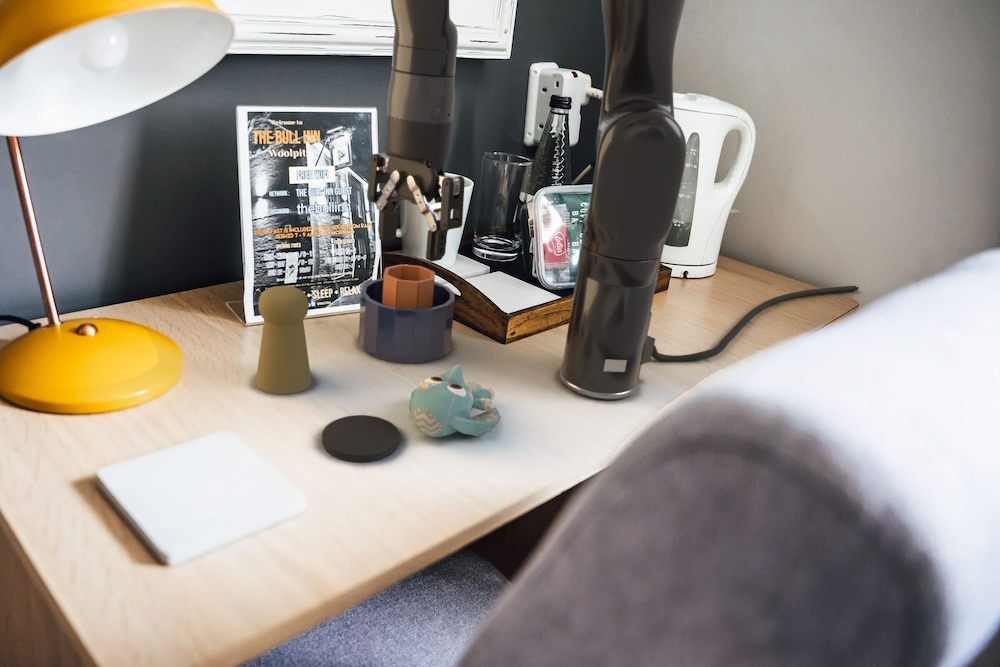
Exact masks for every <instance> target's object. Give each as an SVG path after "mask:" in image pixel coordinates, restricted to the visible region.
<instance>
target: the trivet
mask: <svg viewBox="0 0 1000 667" xmlns="http://www.w3.org/2000/svg"><path fill="white" fill-rule="evenodd" d="M322 430H323V431H322V433H321V444H322V446H323V448H324V450H325V451H326V452H327V453H328V454H329V455H331V456H333V457H335V458H336V459H340V460H343V461H346V462H353V463H370V462H375V461H379V460H384V459H385V458H387V457H390V456H391V455H393V454H394V453H395V452H396V451H397V450H398V449H399V446H400V439H401V434H400V431H399V429H398V428H397V426H396V425H394V423H392V422H390V421H389V420H386V419H384V418H382V417H378V416H374V415H363V414H356V415H355V414H354V415H346V416H343V417H339V418H337V419H335V420H332V421H331V422H329V423H328V424H327V425H326V426H325V428H323V429H322Z"/></svg>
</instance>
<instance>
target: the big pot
mask: <svg viewBox="0 0 1000 667" xmlns="http://www.w3.org/2000/svg"><path fill="white" fill-rule="evenodd" d="M383 278H384V277H381V278H377V279H374V280H370V281H368V282H367V283H365V284H363V285H362V287H361V290H360V300H359V301H360V302H359V325H358V341H359V346H360V347H361V349H362V350H363V351H364V352H365V353H367V354H368V355H370V356H372V357H374V358H376V359H379V360H383V361H386V362H391V363H399V364H418V363H419V364H420V363H427V362H432V361H435V360H438V359H441V358H442V357H445V356H446V355H447V354H448V352H449V351H450V349H451V344H452V332H453V322H454V312H455V300H456V298H455V292H454V291H453V290H452V289H451V288H450V287H448V286H446V285H445V284H442V283H439V282H437V281H435V280H434V292H433V304H432V308H424V309H407V308H396V307H392V306H388V305H384V304H382V298H383Z"/></svg>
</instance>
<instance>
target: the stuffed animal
mask: <svg viewBox="0 0 1000 667" xmlns="http://www.w3.org/2000/svg"><path fill="white" fill-rule="evenodd" d="M494 397H495V391H494V390H493V388H491V387H483V386H482V385H481V384H480V383H478V382H477V383H476V382H475V381H473V380H470V381H467V382H465V380H464V371H463V367H462V365H460V364H455V365H453V366H451V367H450V368H449V369H447V370H446V371H445V372H443V373H442V374H439V375H437V376H430V377H428V378H425V379H423V380H421V382H420V383H418V384H417V386H416V388H415V389H413V390H412V391H411V396H410V399H409V403H408V410H409V411H410V414H411V417H412V420H413V423H414V425H415V427H416V429H418V430H419V431H420V432H421V433H422V434H424V435H426V436H429V437H434V438H440V437H447V436H450V435H452V434H455V433H457V432H459V433H461V434H464V435H470V436H474V437H479V436H482V435H486V434H488V433H491V432H493V430H494V429H495V428H496V427H497V425H498V424H500V422H501V420H502V416H501V414H500V412H499V410H498V409H497V408H496V407H494V408H493V402H492V400H493V399H494ZM472 409H476V410H478V411H483V412H481V413H478V414H477V415H474V416H471V417H470V415H471V413H472Z"/></svg>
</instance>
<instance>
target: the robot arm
mask: <svg viewBox="0 0 1000 667" xmlns="http://www.w3.org/2000/svg"><path fill="white" fill-rule="evenodd" d="M685 3H686V0H601V9H602V11H601V12H602V20H603V31H604V44H605V46H604V47H605V62H604V77H603V86H602V96H601V102H600V103H601V104H600V111H599V118H598V125H597V130H596V134H595V135H596V136H595V154H596V159H595V160H596V161H595V166H594V173H593V180H592V185H591V191H590V199H589V203H588V210H587V214H586V218H585V220H584V223H583V230H582V237H581V242H580V248H579V249H580V250H579V255H578V262H577V269H576V276H575V282H574V287H573V294H572V300H571V301H572V302H571V308H570V313H569V319H568V327H567V334H566V339H565V344H564V345H565V346H564V351H563V358H562V365H561V368H560V370H559V371H560V372H559V379H560V381H561V383H562V385H564V386H565V387H567V389H569V390H571V391H573V392H575V393H577V394H579V395H583V396H586V397H588V398H593V399H600V400H620V399H625V398H628V397H630V396H632V395H633V394H634V393H635V392H636V389H637V385H638V382H639V379H640V374H641V370H642V366H643V365H644V364H647V363H649V362H650V361H652V358H653V359H654V360H656V361H658V362H662V363H688V362H695V361H700V360H703V359H707V358H712V357H714V356H716V355H718V354H720V353H722V352H723V351H724V350H725V348H727V347H728V345H729V343H730V342H731V341H732V340H733V339H735V337H736V336H737V335H738V334H739V333H740V332H741V330H743V329H744V327H746V325H747V324H748V323H749V322H750V321H751V320H752V319H753V318H754V317H756V315H758V314H759V313H760V312H762V311H763V310H765V309H767V308H768V307H770V306H773V305H775V304H778V303H781V302H784V301H787V300H793V299H796V298H802V297H807V296H808V297H809V296H815V295H824V294H835V293H843V292H844V293H845V292H856V291H857V292H858V291H859V289H860V287H859V286H858V287H856V286H855V285H844V286H830V287H822V288H813V289H812V288H811V289H805V290H799V291H793V292H790V293H785V294H782V295H779V296H775V297H773V298H770V299H768V300H766V301H764V302H762V303H761V304H759V305H757V306H756V307H754V308H752V309H751V310H750V311H749V312H747V314H746V315H745V316H743V318H742V319H740V321H738V322H737V323H736V324H735V326H734V327H733V328H732V329H731V330H730V331H729V332H728V333H727V334H726V335H725V336H724V337H723V338H722V339H721V341H720V342H719V343H718V344H717V345H716V346H715V347H712V348H710V349H707V350H702V351H699V352H694V353H690V354H681V355H671V354H670V355H669V354H663V353H659V352H658V350H657V346H656V345H655V343H656V338H655V337H653V336H651V335H649V330H650V324H651V319H652V307H653V302H654V296H655V292H656V288H657V281H658V276H659V271H660V266H661V262H662V255H663V251H664V248H665V243H666V240H667V238H668V236H669V235H670V232H671V229H672V226H673V221H674V218H675V213H676V208H677V204H678V201H679V194H680V191H681V186H682V182H683V178H684V173H685V168H686V167H685V166H686V162H687V152H688V151H687V140H686V137H685V136H686V135H685V133H684V131H683V129H682V127H681V125H680V124H679V123H678V121H677V120H676V118H675V106H674V56H675V48H676V41H677V36H678V31H679V28H680V24H681V19H682V16H683V12H684V9H685ZM390 6H391V7H390V8H391V12H392V17H393V18H392V19H393V24H394V33H393V41H392V42H393V43H392V60H391V68H392V69H391V73H390V78H389V79H390V80H389V82H388V90H387V105H386V119H385V120H386V122H385V136H384V137H385V139H384V150H385V152H380V153H379V152H378V153H373V154H371V155H370V161H369V173H368V182H367V183H368V184H367V196H366V198H367V201H368V202H370V203H374V204H375V205H376V206H375V207H376V209H377V211H378V227H377V231H378V239H379V240H380V241H382V242H385V243H386V242H392V241H394V240H396V238H397V229H398V217H399V216H398V214H399V211H398V210H397V209H398V207H399V205H400V204H401V202H402V201H408V202H410V203H411V204H412V205H415V206H417V208H418V211H419V213H420V214H422V215H423V216H424V218H425V221H426V223H427V226H428V228H429V229H428V230H427V237H426V248H425V249H426V250H425V259H426V260H427V261H430V262H436V261H440V260H442V259H443V258H444V257H445V255H446V248H447V239H448V232H449V230H453V229H460V228H462V226H463V218H464V203H465V184H466V182H465V178H464V177H463V175H457V176H451V175H446V172H445V167H444V166H445V162H446V161H447V160H448V158H449V157H450V155H451V145H452V134H453V125H454V124H453V123H454V112H455V102H456V88H455V85H456V84H455V78H456V77H455V75H456V65H457V54H458V42H459V40H458V39H459V37H458V28H457V26H456V23H454V22H453V20H452V19H451V17H450V0H390ZM379 184H380V185H379ZM378 185H379V186H380V187H379V191H378ZM433 200H434V202H432V201H433ZM435 213H436V214H435ZM436 215H437V216H436Z"/></svg>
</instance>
